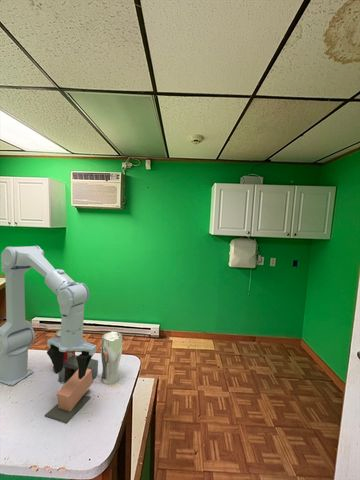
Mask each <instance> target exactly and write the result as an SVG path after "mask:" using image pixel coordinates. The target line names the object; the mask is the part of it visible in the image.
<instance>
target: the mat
mask: <svg viewBox="0 0 360 480" xmlns="http://www.w3.org/2000/svg"><path fill="white" fill-rule="evenodd" d="M91 398H92V397H91V395H90V396H89V395H87V394H86V395H85V394H84V395H83V396H82V397H81V399H80V400H79V401H78V403H77V404H76V405H75V407H74V408H73V409H72V410H71V412H70V411H67V410H63V409H60V408H58V403H56V404H55V405H54V406H53V407H52V408H51V409H49V411H47V412H46V414H44V417H46V418H49V419H51V420H55V421H58V422H61V423H64V424H68V423H69V422H70V420H71V419H72V418H74V416H75V415H76V414H77V413H78V412H79V411H80V410H81V409H82V408H83V407H84V406H85V404H87V402H88V401H89V400H90V399H91Z"/></svg>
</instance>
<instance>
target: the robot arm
mask: <svg viewBox="0 0 360 480" xmlns="http://www.w3.org/2000/svg"><path fill="white" fill-rule="evenodd" d="M0 262H1V272H3V273H5V279H4V280H5V311H6V312H5V313H6V315H5V317H6V322H5V323H4V324H2V326H0V383H2V384H5V385H8V386H14V385H16V384H17V383H19V382H21V381H22V380H23V379H25V378H27V377H29V376H30V375H32V374H33V373H34V370H35V369H34V370H33V369H29V368H28V367H29V366H28V365H29V364H28V361H29V357H28V356H29V349H30V348H31V345H32V344H33V343H34V341H35V338H36V335H35V330H34V326H33V325H34V324H33V322H31V321H29V320H27V319H26V299H25V298H26V297H25V295H26V294H25V292H26V291H25V274H26V273H27V272H28V271H29V270H31V269H33V270H35V271H36V272H37V273H39V274H40V275H41V276H42V277H44V284H45V285H46V286H47V287H48V288H49V289H50V290H51V292H53V293H54V294H55V295H56V297H57V298H56V299H57V303H58V305H59V306H58V307H59V312H60V314H61V318H60V319H61V322H60V324H61V325H60V330H61V338H56V337H55V336H52V337H50V338H49V339H46V340H47V345H46V346H47V347H48V348H49V349H48V350H46V355H48V357H49V359H50V360H51V361H50V362H51V363H52V367H53V366H54V368H53V370H54V373H55V374H56V375H57V374H59V372H60V371H61V370H62V368H63V359H64V353H65V352H66V351H75V352H79V353H80V354H79V355H77V357H76V359H77V362H78V377H79V379H82V378H83V377H84V376H85V374H86V370H87V367H88V364H89V362H90V360H91V359H93V358H92V357H93V355H94V354H95V353H97V345H96V344H93V343H90V342H88V341H86V340H84V339H83V337H84V336H83V335H84V319H85V318H84V317H85V316H84V315H85V304H86V302H88V300H89V299H90V290H89V287H87V285H86V284H85V283H84V282H78V281H77V282H76V281H75V280H73V279H72V278H71V277H70V276H69V275H68V274H67V273H66V272H65V270H64V269H59V268H57V269H55V268H54V266H53V265H52V264H51V263H50V262H49V260H47V258H46V257H45V252H44V250H43V249H42V248H41V247H40V246H39V245H31V246H6V247H5V248H4V249H3V250H2V252H1V254H0Z"/></svg>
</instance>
